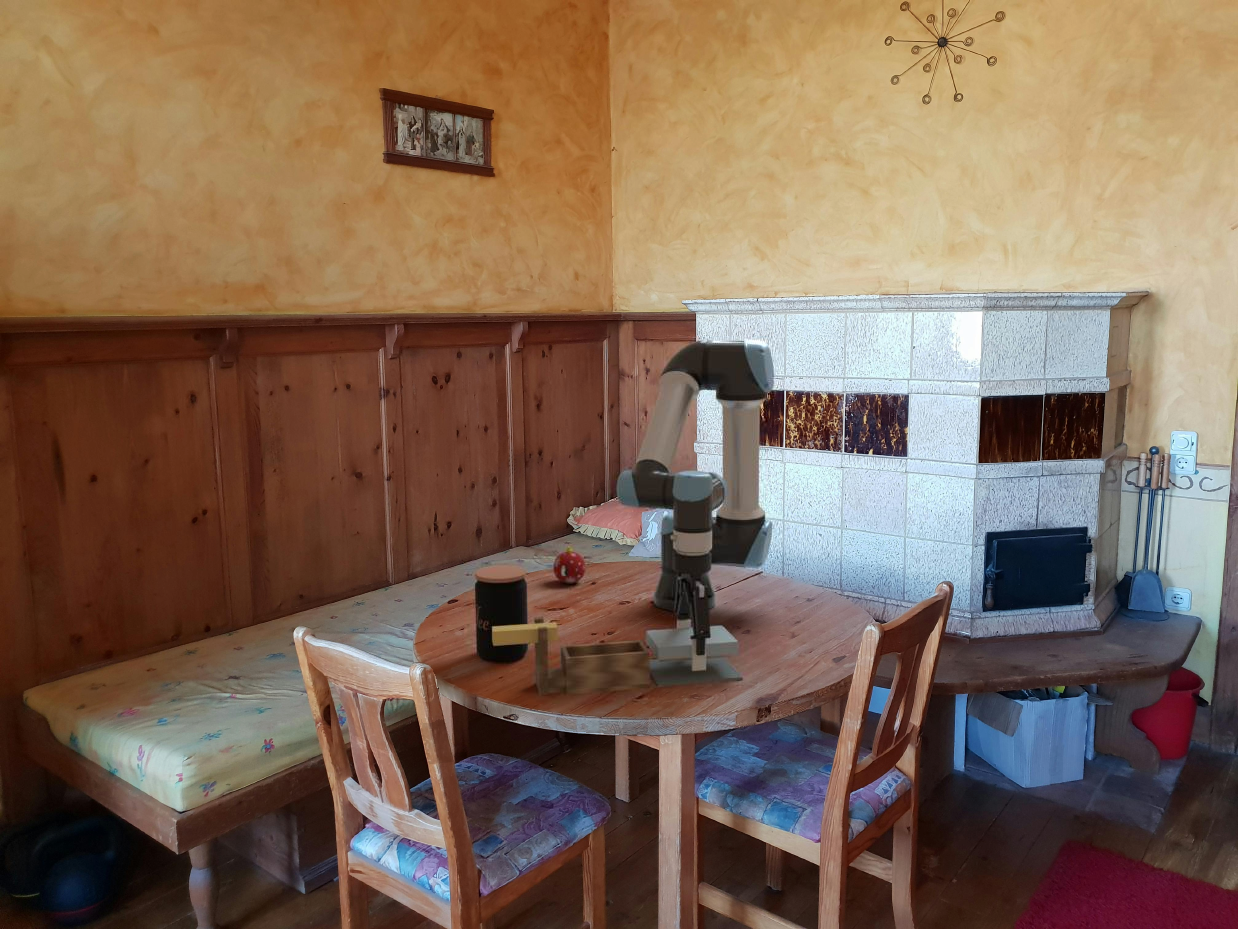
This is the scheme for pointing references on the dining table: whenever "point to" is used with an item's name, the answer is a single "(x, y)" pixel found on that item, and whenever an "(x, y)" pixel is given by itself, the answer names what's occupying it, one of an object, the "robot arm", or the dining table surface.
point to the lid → (689, 643)
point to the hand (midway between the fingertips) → (691, 660)
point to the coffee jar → (500, 610)
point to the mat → (692, 672)
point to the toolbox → (591, 666)
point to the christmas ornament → (569, 567)
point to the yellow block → (522, 633)
